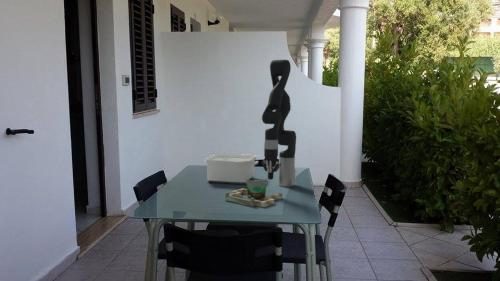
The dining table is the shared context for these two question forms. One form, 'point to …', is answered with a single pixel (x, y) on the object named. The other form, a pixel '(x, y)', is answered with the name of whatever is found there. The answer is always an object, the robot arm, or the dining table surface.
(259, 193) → the food container
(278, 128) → the robot arm
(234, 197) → the trap lane
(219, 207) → the dining table surface
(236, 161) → the pot
